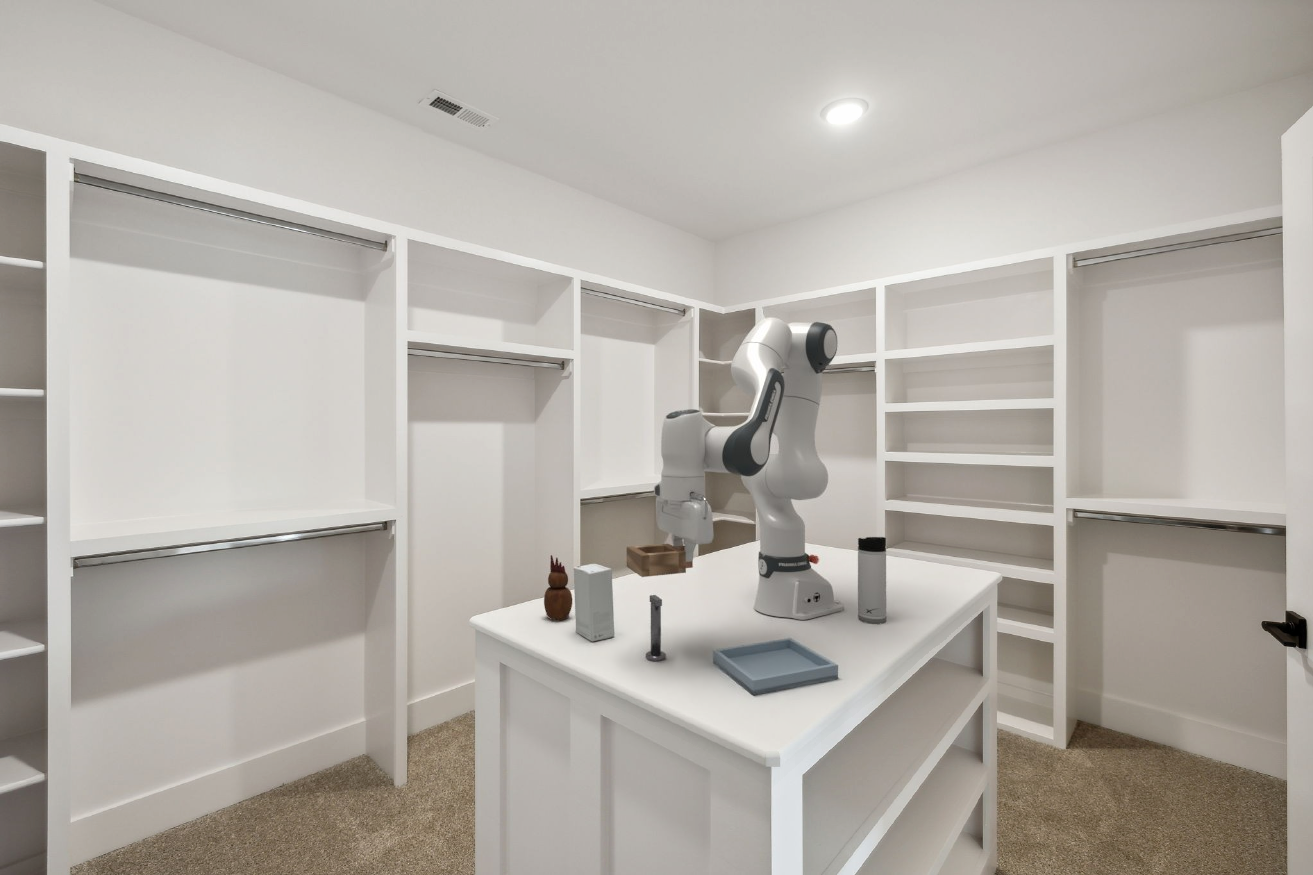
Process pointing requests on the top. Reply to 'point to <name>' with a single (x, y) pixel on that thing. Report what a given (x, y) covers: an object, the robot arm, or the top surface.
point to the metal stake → (655, 631)
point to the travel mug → (872, 579)
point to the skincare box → (594, 602)
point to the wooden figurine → (557, 593)
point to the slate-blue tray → (774, 665)
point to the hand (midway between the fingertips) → (683, 558)
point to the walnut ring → (657, 560)
